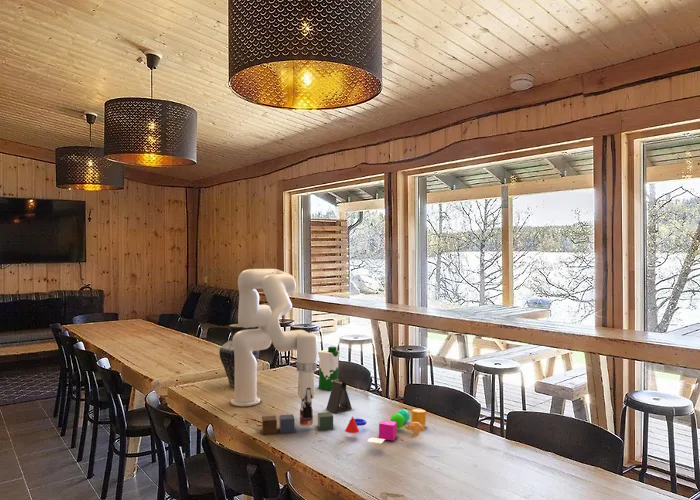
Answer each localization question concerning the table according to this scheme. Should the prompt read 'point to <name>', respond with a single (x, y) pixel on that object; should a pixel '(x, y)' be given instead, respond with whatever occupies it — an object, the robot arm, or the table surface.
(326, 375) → the milk carton
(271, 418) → the walnut block
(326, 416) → the dark green block
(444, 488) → the table surface
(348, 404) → the phone stand
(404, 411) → the shape set
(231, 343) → the jug
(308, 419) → the pill bottle
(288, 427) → the slate blue block
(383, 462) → the table surface
